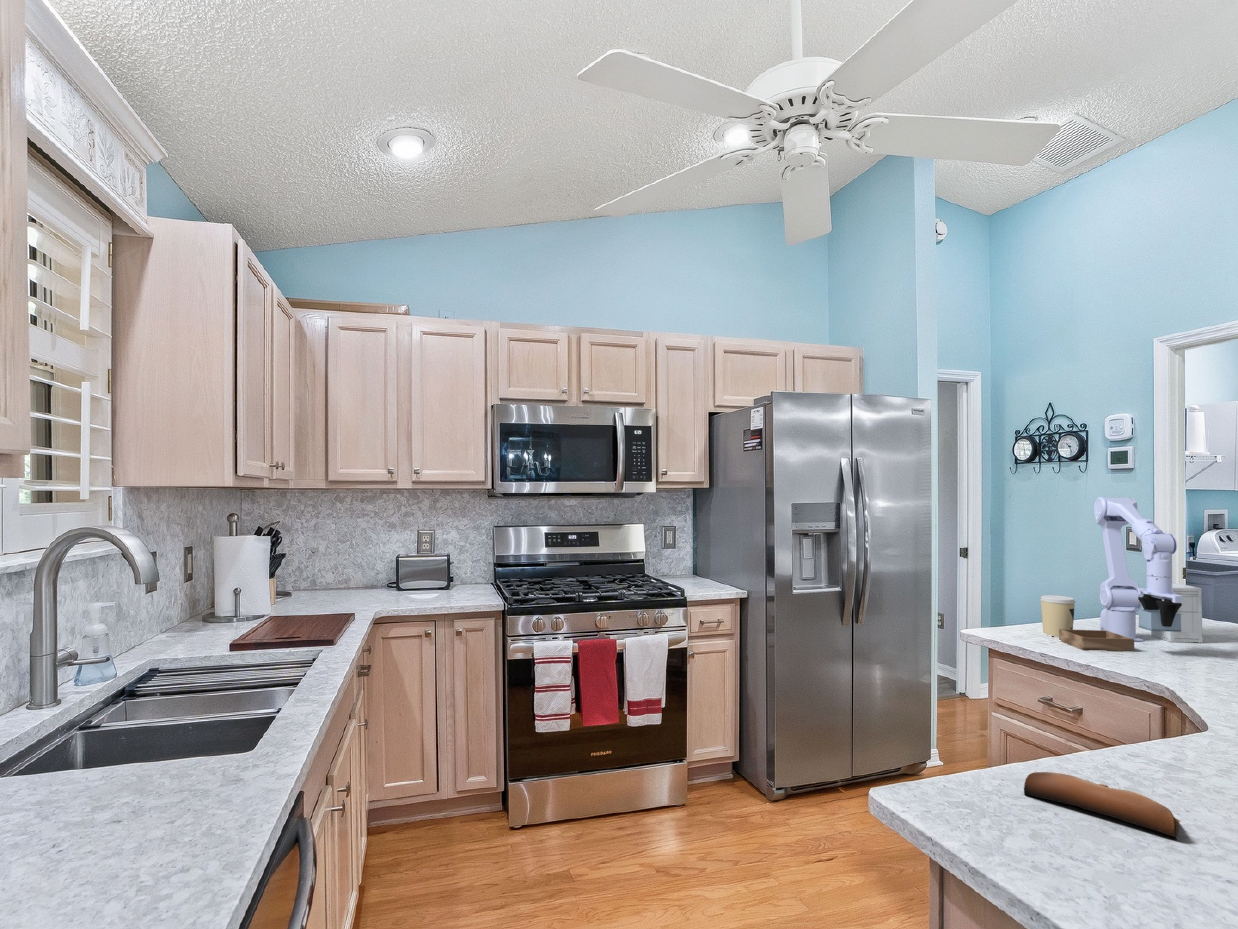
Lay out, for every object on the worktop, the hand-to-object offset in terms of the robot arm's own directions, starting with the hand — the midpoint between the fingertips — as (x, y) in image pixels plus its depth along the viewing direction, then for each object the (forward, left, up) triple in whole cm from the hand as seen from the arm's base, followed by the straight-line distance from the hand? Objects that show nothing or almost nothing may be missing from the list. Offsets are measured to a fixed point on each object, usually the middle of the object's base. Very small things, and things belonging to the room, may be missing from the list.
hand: (1159, 624), depth 193 cm
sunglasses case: (+99, -77, -9) cm, 126 cm away
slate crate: (0, 0, -1) cm, 1 cm away
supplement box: (-21, +19, -9) cm, 30 cm away
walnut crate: (-8, -13, -8) cm, 17 cm away
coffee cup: (-22, -16, -9) cm, 28 cm away
